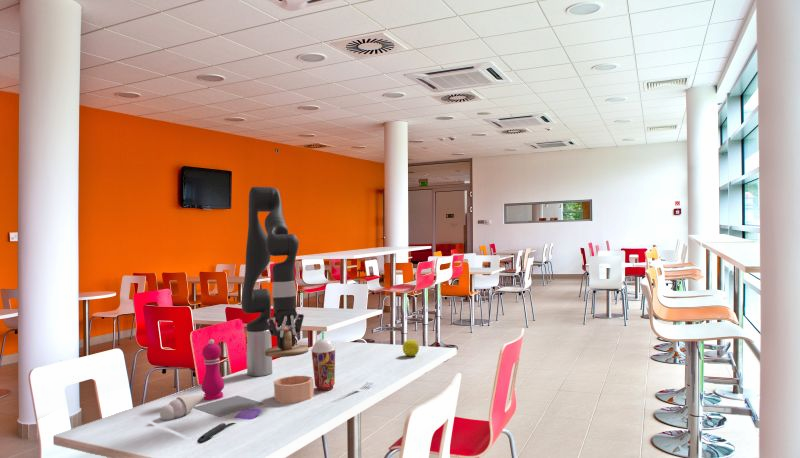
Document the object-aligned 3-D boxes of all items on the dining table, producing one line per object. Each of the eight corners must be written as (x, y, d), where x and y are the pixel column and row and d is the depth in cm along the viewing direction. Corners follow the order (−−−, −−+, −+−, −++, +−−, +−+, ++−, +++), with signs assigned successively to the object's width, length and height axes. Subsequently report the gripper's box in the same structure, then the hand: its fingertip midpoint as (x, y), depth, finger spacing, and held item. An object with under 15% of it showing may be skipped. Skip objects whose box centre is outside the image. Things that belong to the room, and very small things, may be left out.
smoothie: (332, 392, 194) (330, 333, 194) (309, 391, 195) (307, 333, 195) (340, 385, 202) (337, 329, 202) (317, 385, 203) (315, 329, 204)
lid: (256, 353, 186) (255, 332, 187) (291, 346, 197) (290, 326, 197) (281, 358, 177) (280, 336, 177) (317, 350, 187) (316, 329, 187)
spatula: (208, 445, 148) (208, 436, 149) (188, 443, 151) (187, 434, 151) (263, 417, 171) (263, 408, 171) (244, 415, 173) (244, 407, 173)
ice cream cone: (208, 408, 180) (164, 430, 168) (198, 394, 183) (154, 415, 171) (213, 396, 177) (168, 417, 166) (202, 382, 180) (157, 402, 168)
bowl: (267, 400, 187) (266, 382, 187) (297, 391, 196) (297, 374, 196) (290, 406, 179) (289, 387, 179) (321, 397, 188) (320, 379, 188)
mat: (192, 409, 180) (192, 407, 180) (237, 397, 192) (237, 395, 192) (219, 418, 169) (219, 416, 169) (265, 405, 181) (264, 403, 181)
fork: (322, 405, 180) (321, 399, 180) (367, 386, 201) (366, 381, 201) (329, 406, 178) (329, 401, 178) (374, 387, 199) (374, 382, 199)
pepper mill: (229, 396, 193) (226, 337, 193) (215, 402, 186) (213, 341, 187) (211, 395, 196) (209, 337, 196) (197, 401, 189) (195, 341, 189)
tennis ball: (402, 354, 249) (401, 338, 249) (417, 353, 250) (417, 337, 250) (403, 358, 242) (403, 341, 242) (420, 357, 243) (419, 340, 243)
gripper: (295, 292, 195) (297, 342, 195) (259, 296, 184) (261, 349, 184) (308, 293, 190) (310, 344, 189) (272, 297, 179) (274, 352, 179)
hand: (286, 347), depth 187 cm, fingers closed on lid, 3 cm apart
